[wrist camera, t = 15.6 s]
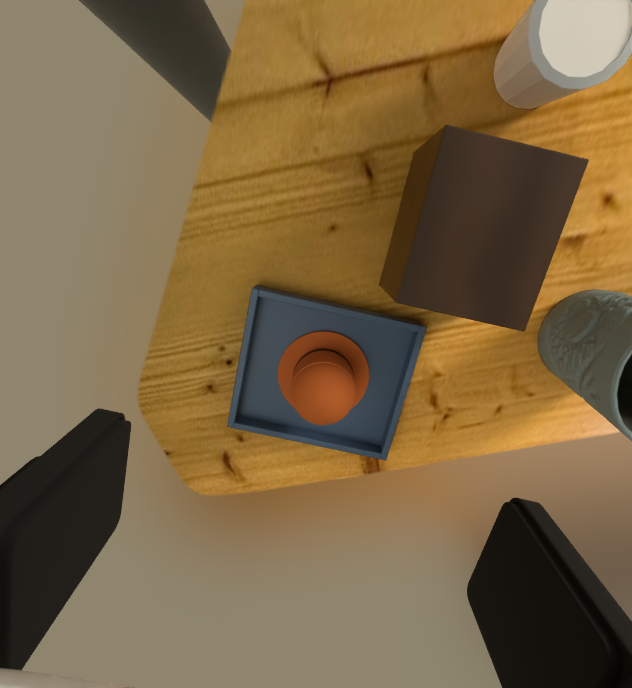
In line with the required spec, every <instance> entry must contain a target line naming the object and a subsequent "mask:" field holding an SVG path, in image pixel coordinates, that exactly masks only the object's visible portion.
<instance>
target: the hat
mask: <svg viewBox="0 0 632 688" xmlns="http://www.w3.org/2000/svg"><path fill="white" fill-rule="evenodd" d="M368 382H369V367H368V363H367V360H366V357H365V355H364V353H363V352H362V350H361V349H360V347H359V346H358V345H357V344H356V343H355V342H354V341H352V340H351V339H350V338H348V337H346V336H344V335H342V334H340V333H336V332H332V331H314V332H310V333H307V334H305V335H302V336H301V337H299V338H297V339H296V340H294V341H293V342H292V343H291V344H290V345H289V346H288V347H287V349H286V350H285V351H284V353H283V355H282V357H281V359H280V363H279V366H278V383H279V386H280V389H281V392H282V394H283V395H284V397H285V399H286V400H287V401H288V402H289V403H290V404H291V405H292V406H293V407H294V408H295V409H296V411H297V412H298V413H299V414H300V416H301V417H302V418H304V419H305V420H307V421H308V422H310V423H313V424H317V425H330V424H333V423H336V422H338V421H340V420H341V419H343V418H344V417H345V416H346V415H347V414H348V412H349V411H350V409H352V408H353V407H354V406H355V405H357V403H358V402H359V401H360V400H361V399H362V397H363V396H364V394H365V392H366V389H367V387H368Z"/></svg>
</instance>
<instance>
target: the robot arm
mask: <svg viewBox="0 0 632 688" xmlns="http://www.w3.org/2000/svg"><path fill="white" fill-rule="evenodd" d="M130 432H131V422H130V421H126V420H125V417H124V414H123V413H118V412H114V411H109V410H104V409H97V410H95V411H94V412H92V413H91V414H90V415H89V416H88V417H87V418H85V419H84V420H83V421H82V422H81V423H79V424H78V425H77V426H76V427H75V428H73V429H72V430H71V431H70V432H69V433H67V434H66V435H65V436H64V437H63V438H62V439H60V440H59V441H58V442H57V443H56V444H55V445H53V446H52V447H51V448H50V449H48V450H47V451H46V452H45V453H44V454H43V455H41V456H39V457H35V458H34V459H32V460H31V461H29V462H28V463H27V464H25V465H24V466H23V467H22V468H21V469H19V470H18V471H17V472H16V473H15V474H13V475H12V476H11V477H10V478H8V479H7V480H6V481H5V482H4V483H2V484H1V485H0V688H133V687H127V686H121V685H115V684H109V683H102V682H95V681H89V680H82V679H75V678H68V677H62V676H55V675H49V674H42V673H35V672H29V671H22V668H23V667H24V665H25V664H26V662H27V661H28V659H29V658H30V656H31V655H32V653H33V652H34V650H35V649H36V647H37V646H38V644H39V643H40V641H41V640H42V638H43V637H44V635H45V634H46V632H47V631H48V629H49V628H50V626H51V625H52V623H53V622H54V620H55V619H56V617H57V616H58V614H59V613H60V611H61V610H62V608H63V607H64V605H65V604H66V602H67V601H68V599H69V598H70V596H71V595H72V593H73V592H74V590H75V589H76V587H77V586H78V584H79V583H80V581H81V580H82V578H83V577H84V575H85V574H86V572H87V571H88V569H89V568H90V566H91V565H92V563H93V562H94V560H95V559H96V557H97V556H98V554H99V553H100V551H101V550H102V548H103V547H104V545H105V544H106V542H107V541H108V539H109V538H110V536H111V535H112V533H113V532H114V530H115V529H116V526H117V524H118V522H119V519H120V515H121V509H122V500H123V491H124V483H125V475H126V465H127V457H128V449H129V440H130ZM467 595H468V600H469V603H470V606H471V608H472V611H473V613H474V616H475V618H476V621H477V624H478V626H479V629H480V631H481V634H482V637H483V639H484V642H485V644H486V647H487V649H488V652H489V655H490V657H491V659H492V662H493V665H494V667H495V670H496V673H497V675H498V678H499V680H500V683H501V685H502V688H632V621H631V620H630V619H629V617H628V616H627V615H626V614H625V612H624V611H623V610H622V608H621V607H620V606H619V605H618V603H617V602H616V601H615V599H614V598H613V597H612V596H611V594H610V593H609V592H608V590H607V589H606V588H605V587H604V585H603V584H602V583H601V582H600V580H599V579H598V578H597V576H596V575H595V574H594V572H593V571H592V570H591V568H590V567H589V566H588V565H587V563H586V562H585V561H584V559H583V558H582V557H581V556H580V554H579V553H578V552H577V551H576V549H575V548H574V547H573V545H572V544H571V543H570V541H569V540H568V539H567V537H566V536H565V535H564V534H563V532H562V531H561V530H560V528H559V527H558V526H557V525H556V523H555V522H554V521H553V520H552V518H551V517H550V516H549V515H548V513H547V512H546V510H545V509H544V508H543V507H542V505H540V504H539V503H537V502H533V501H528V500H524V499H519V498H513V499H511V500H510V502H506V503H504V504H503V506H502V508H501V510H500V512H499V515H498V517H497V519H496V522H495V523H494V526H493V528H492V530H491V533H490V535H489V537H488V539H487V542H486V544H485V546H484V549H483V551H482V553H481V556H480V558H479V560H478V562H477V565H476V567H475V569H474V571H473V574H472V576H471V579H470V580H469V583H468V587H467Z"/></svg>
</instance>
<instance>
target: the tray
mask: <svg viewBox="0 0 632 688" xmlns="http://www.w3.org/2000/svg"><path fill="white" fill-rule="evenodd" d="M426 328H427V327H426V326H425V325H424V324H423V323H422V322H418V321H414V320H409V319H405V318H400V317H396V316H391V315H387V314H383V313H378V312H374V311H369V310H365V309H360V308H356V307H351V306H347V305H343V304H338V303H334V302H329V301H325V300H320V299H316V298H311V297H307V296H302V295H298V294H294V293H289V292H285V291H280V290H276V289H271V288H267V287H262V286H258V285H256V286H254V287H253V288H252V291H251V297H250V302H249V308H248V313H247V319H246V325H245V330H244V336H243V341H242V347H241V352H240V358H239V364H238V369H237V375H236V380H235V386H234V391H233V397H232V403H231V408H230V414H229V419H228V425H227V427H231V428H235V429H240V430H245V431H249V432H254V433H259V434H264V435H268V436H273V437H278V438H283V439H287V440H292V441H297V442H302V443H306V444H311V445H316V446H321V447H325V448H330V449H335V450H339V451H344V452H349V453H354V454H358V455H363V456H368V457H373V458H377V459H382V460H386V459H387V456H388V452H389V449H390V446H391V443H392V439H393V436H394V433H395V430H396V426H397V423H398V420H399V416H400V413H401V410H402V407H403V403H404V400H405V397H406V394H407V390H408V387H409V384H410V381H411V377H412V374H413V371H414V367H415V364H416V361H417V358H418V354H419V351H420V348H421V345H422V341H423V338H424V335H425V332H426ZM314 331H332V332H336V333H340V334H342V335H344V336H346V337H348V338H350V339H351V340H352V341H354V342H355V343H356V344H357V345H358V346H359V347H360V349H361V350H362V352H363V353H364V355H365V357H366V360H367V363H368V367H369V382H368V387H367V389H366V392H365V394H364V396H363V397H362V399H361V400H360V401H359V402H358V403H357V405H355V406H354V407H353V408H352V409H350V411H349V412H348V414H347V415H346V416H345V417H344V418H343V419H341V420H340V421H338V422H336V423H333V424H330V425H317V424H313V423H310V422H308V421H307V420H305V419H304V418H302V417H301V416H300V414H299V413H298V412H297V411H296V409H295V408H294V407H293V406H292V405H291V404H290V403H289V402H288V401H287V400H286V399H285V397H284V395H283V394H282V392H281V389H280V386H279V383H278V366H279V363H280V359H281V357H282V355H283V353H284V351H285V350H286V349H287V347H288V346H289V345H290V344H291V343H292V342H293V341H294V340H296V339H297V338H299V337H301V336H302V335H305V334H307V333H310V332H314Z"/></svg>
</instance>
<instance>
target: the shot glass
mask: <svg viewBox="0 0 632 688" xmlns="http://www.w3.org/2000/svg"><path fill="white" fill-rule="evenodd" d="M631 53H632V0H534V1H533V2H532V3H531V5H530V6H529V8H528V9H527V10H526V12H525V13H524V15H523V16H522V18H521V19H520V20H519V22H518V23H517V25H516V26H515V27H514V29H513V30H512V32H511V33H510V35H509V36H508V37H507V39H506V40H505V42H504V43H503V45H502V47H501V49H500V51H499V53H498V55H497V57H496V59H495V66H494V73H493V76H494V81H495V86H496V90H497V92H498V93H499V94H500V96H501V97H502V99H503V100H504V101H505V102H506V103H508V104H510V105H512V106H513V107H515V108H518V109H533V108H535V107H538V106H541V105H543V104H546V103H549V102H551V101H554V100H557V99H559V98H562V97H565V96H567V95H570V94H573V93H575V92H578V91H581V90H583V89H586V88H589V87H591V86H594V85H596V84H599V83H601V82H604V81H606V80H608V79H609V78H610V77H611V76H612V75H613V74H614V73H615V72H617V71H618V70H619V69H620V68H621V67H622V66H623V65H625V64H626V62H627V60H628V59H629V57H630V55H631Z"/></svg>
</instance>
